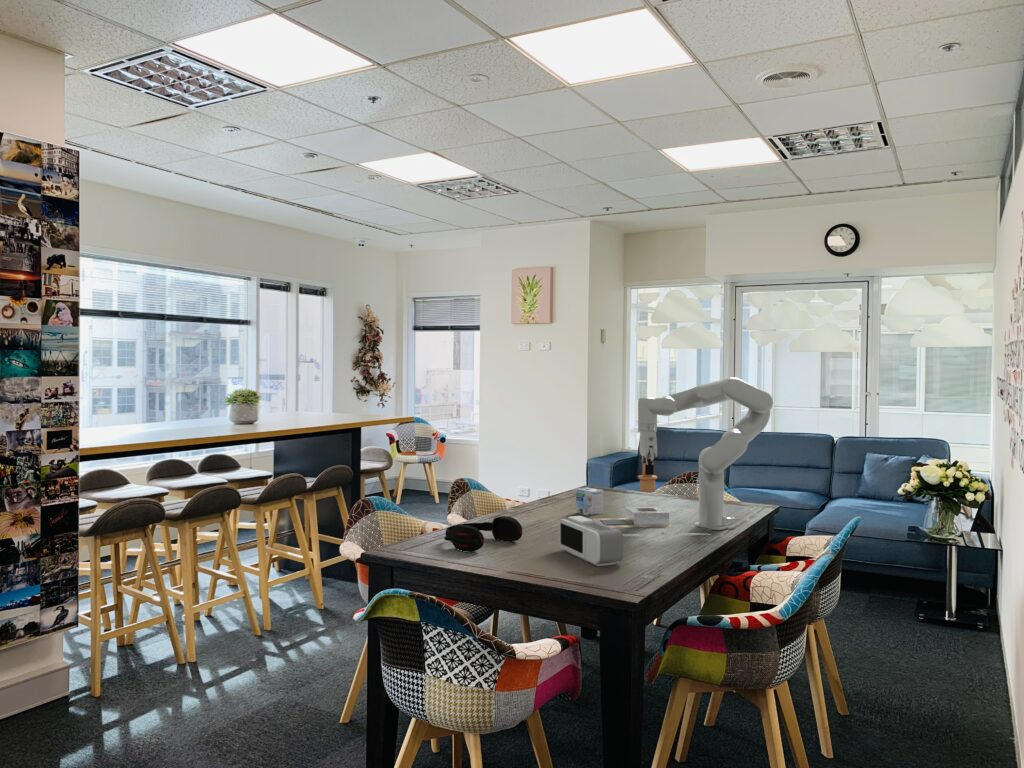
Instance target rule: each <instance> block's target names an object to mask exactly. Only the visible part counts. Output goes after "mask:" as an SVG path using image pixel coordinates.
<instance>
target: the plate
mask: <svg viewBox="0 0 1024 768" xmlns="http://www.w3.org/2000/svg"><path fill="white" fill-rule="evenodd" d="M624 509H625V510H624V511H625V512H624V517H623V518H622V517H621V518H615V517H614V518H592V520H593V521H596V522H599V523H602V524H604V525H607V526H610V527H613V528H615V529H618V528H663V527H664V528H666V527H667V528H668V527H669V528H670V527H672V528H673V527H674V525H671V524H670V512H669V511H667V510H665V509H663V507H660V506H625V507H624Z"/></svg>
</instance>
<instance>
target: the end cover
mask: <svg viewBox="0 0 1024 768" xmlns="http://www.w3.org/2000/svg"><path fill="white" fill-rule="evenodd" d="M645 465H646V463H643V473H642V474H641V475H640V474H639V475H637V479H639V491H640V492H641V493H656V480H657V479H658V476H657V475H654V474H653V475H646V474H645Z"/></svg>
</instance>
